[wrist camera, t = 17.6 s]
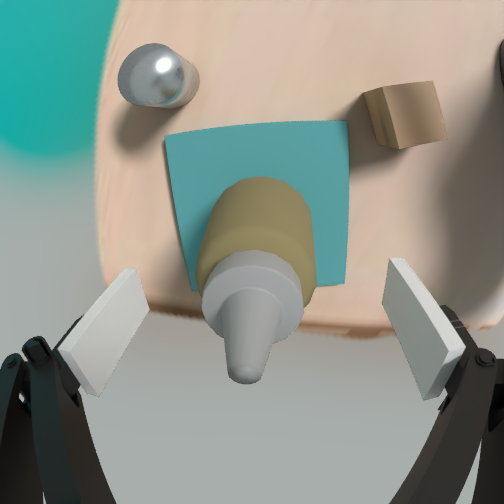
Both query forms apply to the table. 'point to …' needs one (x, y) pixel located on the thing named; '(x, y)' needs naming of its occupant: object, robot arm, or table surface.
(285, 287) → the squeeze bottle
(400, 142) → the walnut block
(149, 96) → the grey metal tin
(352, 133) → the table surface
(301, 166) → the teal mat
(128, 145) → the table surface
